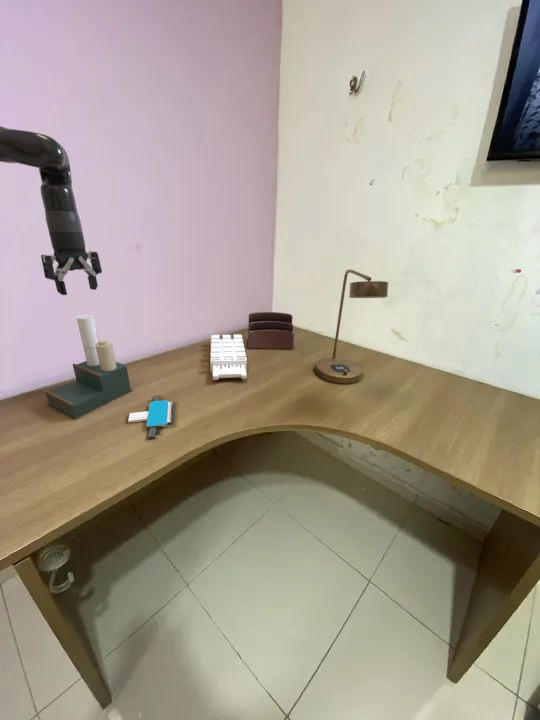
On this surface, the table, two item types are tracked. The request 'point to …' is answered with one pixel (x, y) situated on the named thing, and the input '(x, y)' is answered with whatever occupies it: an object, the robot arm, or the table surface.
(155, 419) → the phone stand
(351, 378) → the lamp
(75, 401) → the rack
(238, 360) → the organizer
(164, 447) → the table surface
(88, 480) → the table surface
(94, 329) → the tube
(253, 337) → the letter holder
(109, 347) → the cream capped cylinder
